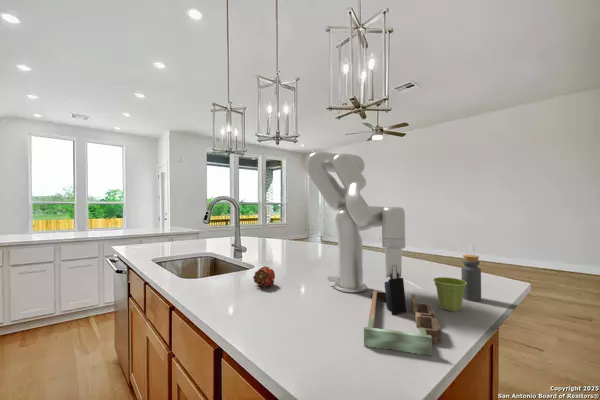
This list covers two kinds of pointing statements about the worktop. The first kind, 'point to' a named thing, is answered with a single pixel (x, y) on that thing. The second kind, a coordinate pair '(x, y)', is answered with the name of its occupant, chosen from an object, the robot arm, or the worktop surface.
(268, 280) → the dragon fruit
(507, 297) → the worktop surface
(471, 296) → the bottle
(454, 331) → the worktop surface
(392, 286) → the black blue bulged block
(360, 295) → the worktop surface
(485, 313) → the worktop surface
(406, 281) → the white baseball bat
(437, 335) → the trap channel
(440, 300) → the plant pot
